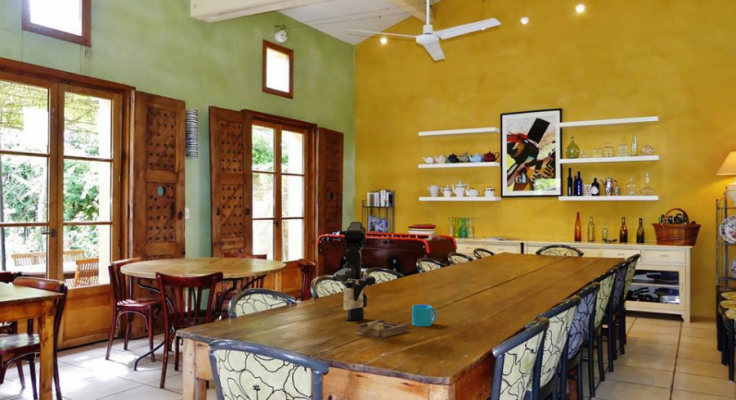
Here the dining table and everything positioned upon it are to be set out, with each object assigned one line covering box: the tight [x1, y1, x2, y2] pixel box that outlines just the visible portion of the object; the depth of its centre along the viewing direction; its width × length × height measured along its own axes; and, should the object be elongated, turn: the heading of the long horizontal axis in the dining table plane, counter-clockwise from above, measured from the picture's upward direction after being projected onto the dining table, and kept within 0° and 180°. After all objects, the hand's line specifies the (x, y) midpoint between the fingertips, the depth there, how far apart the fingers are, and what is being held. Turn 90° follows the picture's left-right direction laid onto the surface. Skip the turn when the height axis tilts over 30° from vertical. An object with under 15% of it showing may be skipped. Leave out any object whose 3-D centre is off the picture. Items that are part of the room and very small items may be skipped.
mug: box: [411, 304, 437, 327], centre depth 224 cm, size 12×8×8 cm
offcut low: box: [365, 327, 384, 335], centre depth 206 cm, size 7×4×2 cm, turn 47°
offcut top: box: [367, 320, 384, 330], centre depth 206 cm, size 5×4×2 cm
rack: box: [354, 319, 410, 339], centre depth 209 cm, size 14×18×3 cm
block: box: [342, 287, 364, 311], centre depth 212 cm, size 9×2×8 cm, turn 137°
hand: (353, 300), depth 213 cm, fingers closed on block, 2 cm apart
